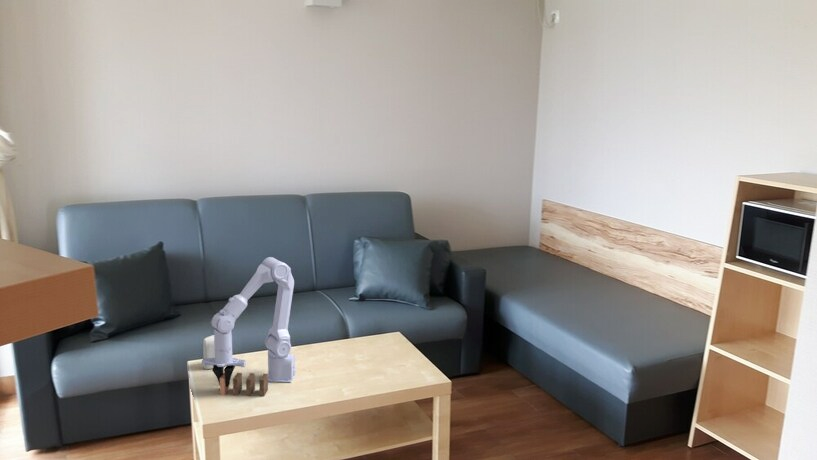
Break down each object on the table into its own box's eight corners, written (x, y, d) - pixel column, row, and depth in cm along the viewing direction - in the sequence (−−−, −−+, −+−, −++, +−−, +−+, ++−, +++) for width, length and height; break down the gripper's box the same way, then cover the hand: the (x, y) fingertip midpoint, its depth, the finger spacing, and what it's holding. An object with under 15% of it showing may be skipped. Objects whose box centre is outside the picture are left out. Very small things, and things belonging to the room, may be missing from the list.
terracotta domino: (229, 388, 215) (228, 372, 213) (224, 394, 210) (224, 378, 209) (225, 388, 215) (224, 372, 213) (220, 394, 210) (219, 378, 209)
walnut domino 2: (255, 389, 214) (254, 373, 213) (250, 395, 209) (250, 379, 208) (250, 389, 214) (250, 373, 213) (246, 395, 210) (246, 379, 208)
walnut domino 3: (267, 389, 214) (267, 373, 213) (264, 396, 209) (263, 380, 208) (263, 389, 214) (263, 373, 213) (259, 396, 209) (259, 379, 208)
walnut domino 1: (242, 388, 215) (241, 372, 213) (237, 395, 210) (237, 379, 208) (237, 388, 215) (237, 372, 213) (233, 395, 210) (232, 378, 208)
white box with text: (229, 361, 237) (228, 330, 235) (233, 365, 234) (232, 334, 231) (202, 366, 232) (201, 335, 229) (205, 370, 228) (204, 339, 226)
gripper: (197, 351, 205) (199, 389, 208) (240, 353, 205) (242, 391, 208) (205, 343, 212) (206, 380, 215) (247, 345, 212) (248, 382, 215)
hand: (224, 385), depth 212 cm, fingers closed on terracotta domino
